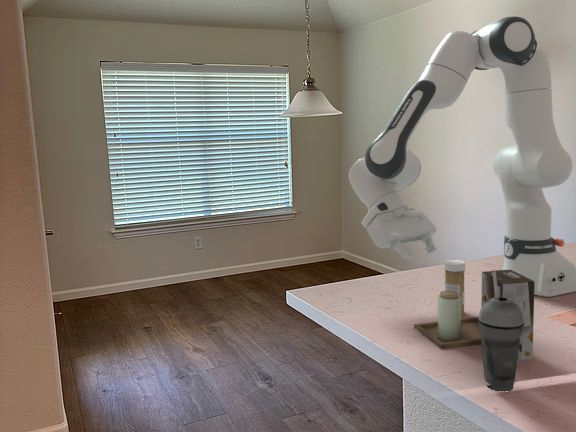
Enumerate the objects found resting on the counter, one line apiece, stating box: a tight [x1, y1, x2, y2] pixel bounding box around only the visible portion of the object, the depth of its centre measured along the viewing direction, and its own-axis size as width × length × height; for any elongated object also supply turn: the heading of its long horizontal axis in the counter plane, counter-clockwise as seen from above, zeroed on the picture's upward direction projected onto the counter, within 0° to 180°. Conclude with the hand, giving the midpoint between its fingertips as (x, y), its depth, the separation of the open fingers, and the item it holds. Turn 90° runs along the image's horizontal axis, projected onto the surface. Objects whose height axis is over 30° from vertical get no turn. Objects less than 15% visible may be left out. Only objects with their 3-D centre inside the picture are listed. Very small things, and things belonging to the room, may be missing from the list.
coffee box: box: [480, 269, 535, 363], centre depth 100 cm, size 9×6×16 cm
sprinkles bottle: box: [444, 259, 466, 317], centre depth 122 cm, size 5×5×14 cm
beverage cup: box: [477, 270, 524, 393], centre depth 88 cm, size 7×7×20 cm
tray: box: [413, 316, 481, 350], centre depth 111 cm, size 16×12×2 cm
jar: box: [437, 290, 462, 342], centre depth 107 cm, size 5×5×10 cm
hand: (421, 254), depth 127 cm, fingers open, 8 cm apart
